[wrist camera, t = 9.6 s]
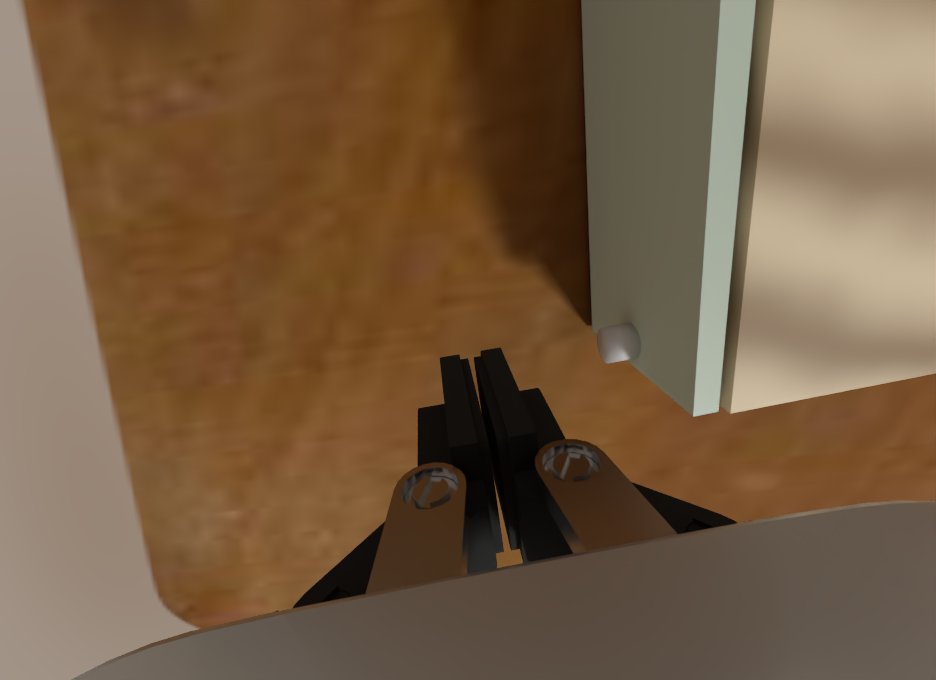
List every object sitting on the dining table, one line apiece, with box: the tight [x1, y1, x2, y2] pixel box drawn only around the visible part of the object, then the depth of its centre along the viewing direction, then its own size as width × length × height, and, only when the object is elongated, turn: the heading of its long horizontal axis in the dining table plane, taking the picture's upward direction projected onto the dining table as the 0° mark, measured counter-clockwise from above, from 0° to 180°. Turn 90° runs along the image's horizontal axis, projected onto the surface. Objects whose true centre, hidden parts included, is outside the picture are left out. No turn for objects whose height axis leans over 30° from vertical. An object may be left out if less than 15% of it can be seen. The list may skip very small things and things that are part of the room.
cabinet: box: [719, 0, 936, 414], centre depth 21 cm, size 20×12×12 cm, turn 8°
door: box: [581, 0, 756, 417], centre depth 21 cm, size 20×3×11 cm, turn 8°
